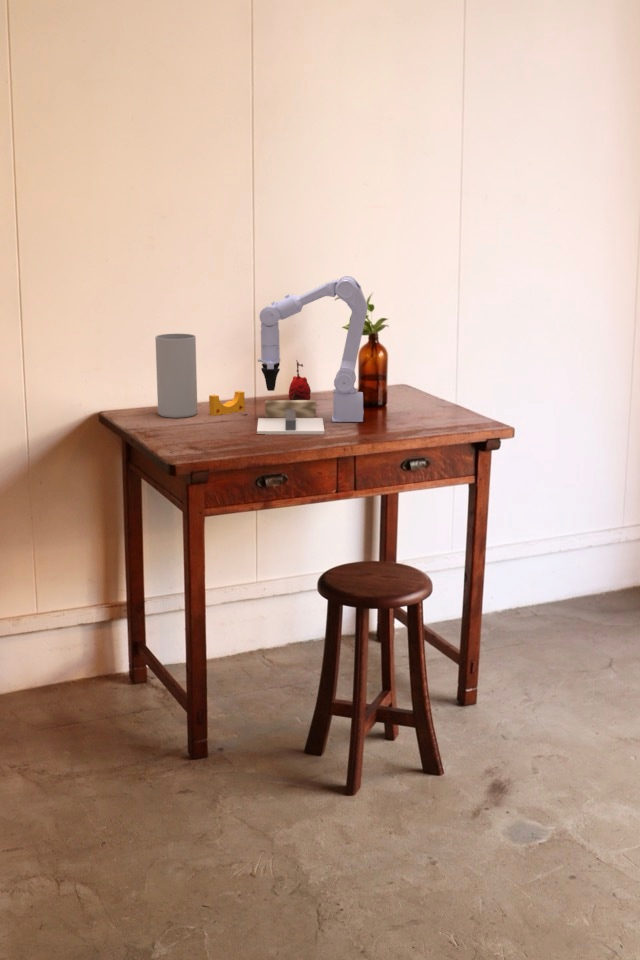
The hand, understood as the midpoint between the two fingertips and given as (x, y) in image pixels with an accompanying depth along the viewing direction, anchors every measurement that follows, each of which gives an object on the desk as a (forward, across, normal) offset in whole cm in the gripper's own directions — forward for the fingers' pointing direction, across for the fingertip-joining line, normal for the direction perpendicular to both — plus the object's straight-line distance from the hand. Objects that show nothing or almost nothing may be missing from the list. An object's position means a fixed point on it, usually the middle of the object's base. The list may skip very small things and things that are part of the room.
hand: (270, 388), depth 362 cm
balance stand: (+10, +14, +6) cm, 18 cm away
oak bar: (+10, -3, +6) cm, 12 cm away
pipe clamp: (+10, -9, -15) cm, 20 cm away
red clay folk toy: (+10, -24, +9) cm, 28 cm away
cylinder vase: (+10, -7, -30) cm, 32 cm away
